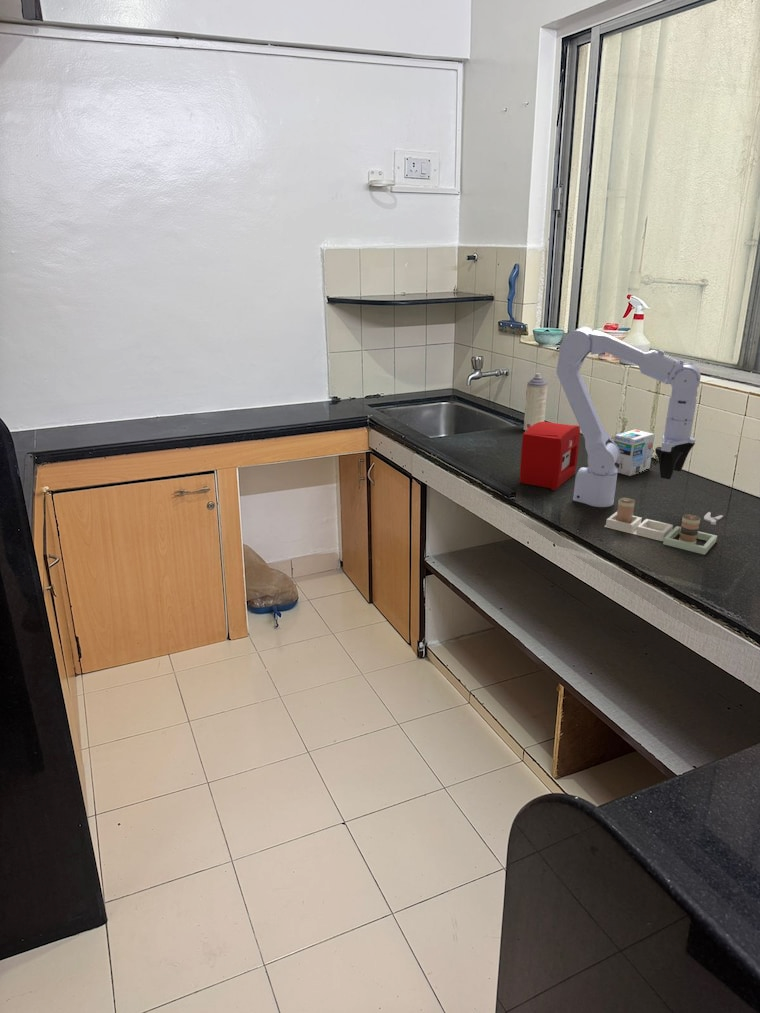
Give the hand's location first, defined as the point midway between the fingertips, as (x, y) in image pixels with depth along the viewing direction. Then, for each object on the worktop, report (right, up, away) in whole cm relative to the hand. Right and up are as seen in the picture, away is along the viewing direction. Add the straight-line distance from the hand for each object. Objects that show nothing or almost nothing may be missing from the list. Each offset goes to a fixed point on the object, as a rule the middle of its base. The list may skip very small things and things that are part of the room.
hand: (670, 474), depth 165 cm
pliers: (+6, -13, -3) cm, 15 cm away
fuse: (-13, -12, -4) cm, 18 cm away
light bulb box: (+3, +3, +37) cm, 37 cm away
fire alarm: (-22, 0, +29) cm, 37 cm away
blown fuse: (-2, -16, -13) cm, 21 cm away
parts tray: (-2, -16, -13) cm, 21 cm away
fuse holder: (-10, -13, -6) cm, 18 cm away
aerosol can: (-16, +18, +77) cm, 81 cm away
